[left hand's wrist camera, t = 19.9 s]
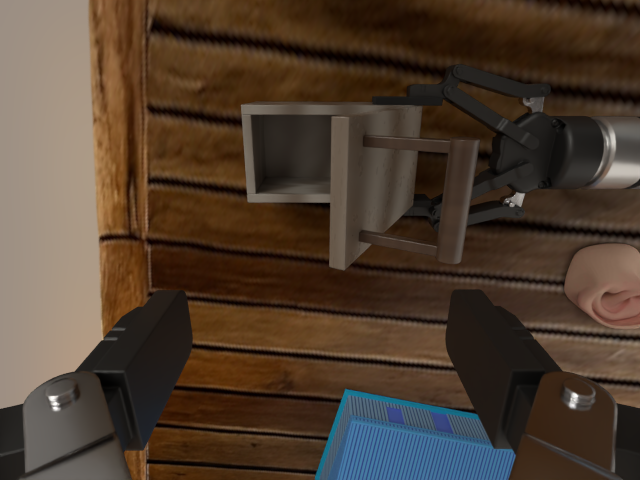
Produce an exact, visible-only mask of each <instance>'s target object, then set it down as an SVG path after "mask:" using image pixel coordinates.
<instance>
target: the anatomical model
mask: <svg viewBox="0 0 640 480" xmlns="http://www.w3.org/2000/svg"><path fill="white" fill-rule="evenodd" d="M564 291H565V294H566V296H567V297H568V298H569V299H570V300H571V301H572V302H573V303H574V304H575V305H576V306H578V307H579V308H580V309H581V310H583V311H584V312H585V313H587V314H588V315H589V316H590V317H591V318H593V319H594V320H595V321H597V322H598V323H600V324H601V325H604V326H606V327H609V328H614V329H635V328H640V253H639V252H638V251H637V249H635V248H634V247H632V246H630V245H627V244H620V243H608V244H599V245H593V246H588V247H585V248H583V249H581V250H579V251H578V252H577V253H576V254H575V255H574V257H573V259H572V261H571V263H570V266H569V269H568V272H567V275H566V279H565V285H564Z"/></svg>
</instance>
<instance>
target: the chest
mask: <svg viewBox="0 0 640 480" xmlns="http://www.w3.org/2000/svg"><path fill="white" fill-rule="evenodd" d="M405 106H414V105H374V104H372V102H252V103H248V104H243V105H241V111H242V125H243V140H244V154H245V169H246V183H247V198H248V202H275V203H330V191H331V122H332V116H338V115H346V114H353V113H361V112H368V111H375V110H383V109H390V108H398V107H405Z"/></svg>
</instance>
